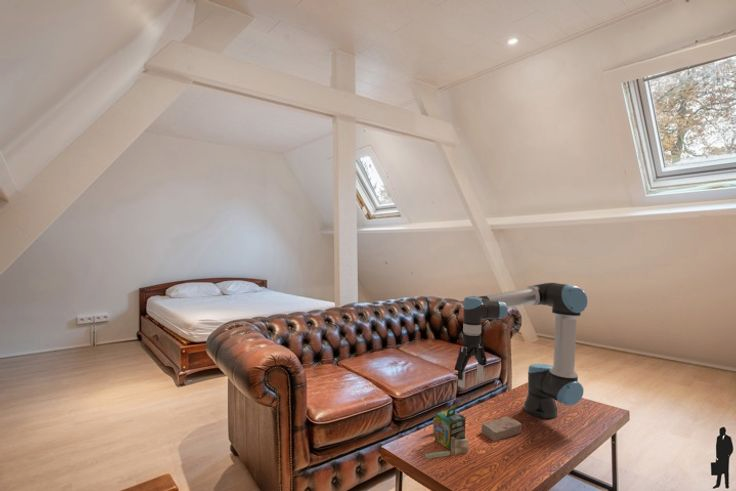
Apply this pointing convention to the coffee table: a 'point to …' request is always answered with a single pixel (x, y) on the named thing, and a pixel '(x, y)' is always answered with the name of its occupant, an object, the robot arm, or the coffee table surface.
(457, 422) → the chalk box
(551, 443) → the coffee table surface
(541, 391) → the robot arm
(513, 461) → the coffee table surface
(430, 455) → the kerb
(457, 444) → the chute
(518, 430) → the brick
